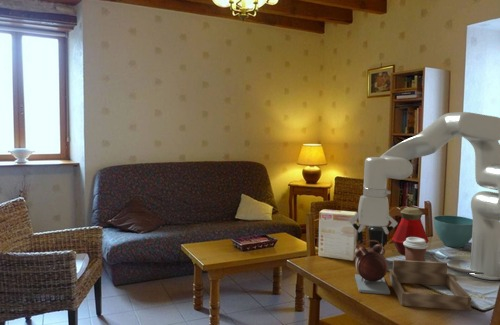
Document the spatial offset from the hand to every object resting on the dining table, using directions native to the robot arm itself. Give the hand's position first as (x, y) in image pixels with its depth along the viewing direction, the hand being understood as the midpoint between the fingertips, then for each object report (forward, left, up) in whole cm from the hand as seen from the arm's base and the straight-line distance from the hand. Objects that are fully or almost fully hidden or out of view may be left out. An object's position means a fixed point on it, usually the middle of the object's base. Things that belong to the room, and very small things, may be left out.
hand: (371, 243), depth 138 cm
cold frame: (-17, +5, -15) cm, 24 cm away
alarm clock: (-1, 0, -14) cm, 14 cm away
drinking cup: (-6, -28, -15) cm, 33 cm away
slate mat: (0, 0, -15) cm, 15 cm away
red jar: (-22, -40, -15) cm, 49 cm away
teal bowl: (-46, -56, -15) cm, 74 cm away
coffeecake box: (+10, -30, -15) cm, 35 cm away
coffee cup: (-19, -19, -15) cm, 31 cm away
